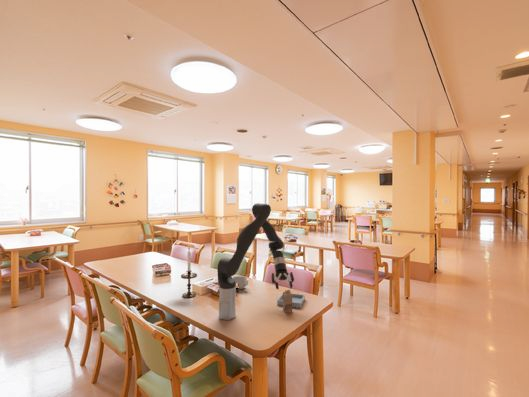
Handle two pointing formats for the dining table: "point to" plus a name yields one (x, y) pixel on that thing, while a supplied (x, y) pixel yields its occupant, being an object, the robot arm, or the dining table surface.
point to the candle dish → (293, 300)
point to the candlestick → (189, 276)
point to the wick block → (287, 301)
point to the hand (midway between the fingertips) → (284, 288)
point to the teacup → (241, 281)
